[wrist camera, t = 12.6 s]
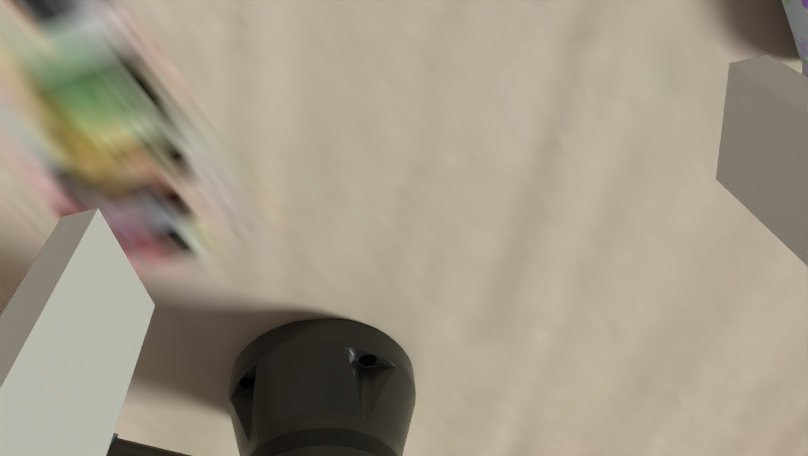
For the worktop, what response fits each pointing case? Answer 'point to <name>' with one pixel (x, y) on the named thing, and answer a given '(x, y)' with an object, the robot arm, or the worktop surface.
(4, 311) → the robot arm
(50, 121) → the worktop surface
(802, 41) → the pencil case
